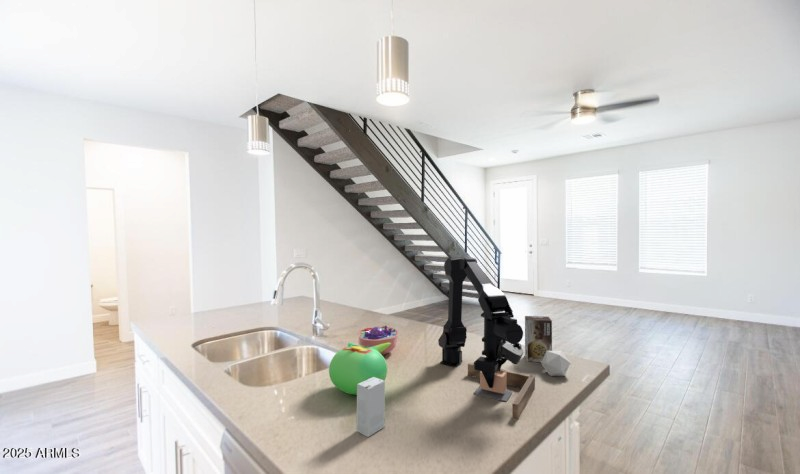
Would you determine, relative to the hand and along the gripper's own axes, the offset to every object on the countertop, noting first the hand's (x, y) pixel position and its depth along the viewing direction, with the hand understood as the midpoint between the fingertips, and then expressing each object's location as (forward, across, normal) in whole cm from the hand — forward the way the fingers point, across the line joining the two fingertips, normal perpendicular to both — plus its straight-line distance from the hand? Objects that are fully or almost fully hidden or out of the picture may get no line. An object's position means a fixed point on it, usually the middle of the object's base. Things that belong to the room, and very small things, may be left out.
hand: (493, 385), depth 111 cm
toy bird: (+3, -20, +36) cm, 41 cm away
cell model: (+3, +12, +51) cm, 52 cm away
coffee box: (+3, +38, -6) cm, 39 cm away
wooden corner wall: (+2, -1, +1) cm, 3 cm away
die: (+3, +26, -14) cm, 30 cm away
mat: (+2, 0, 0) cm, 2 cm away
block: (+1, 0, 0) cm, 1 cm away
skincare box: (+3, -36, +20) cm, 41 cm away
